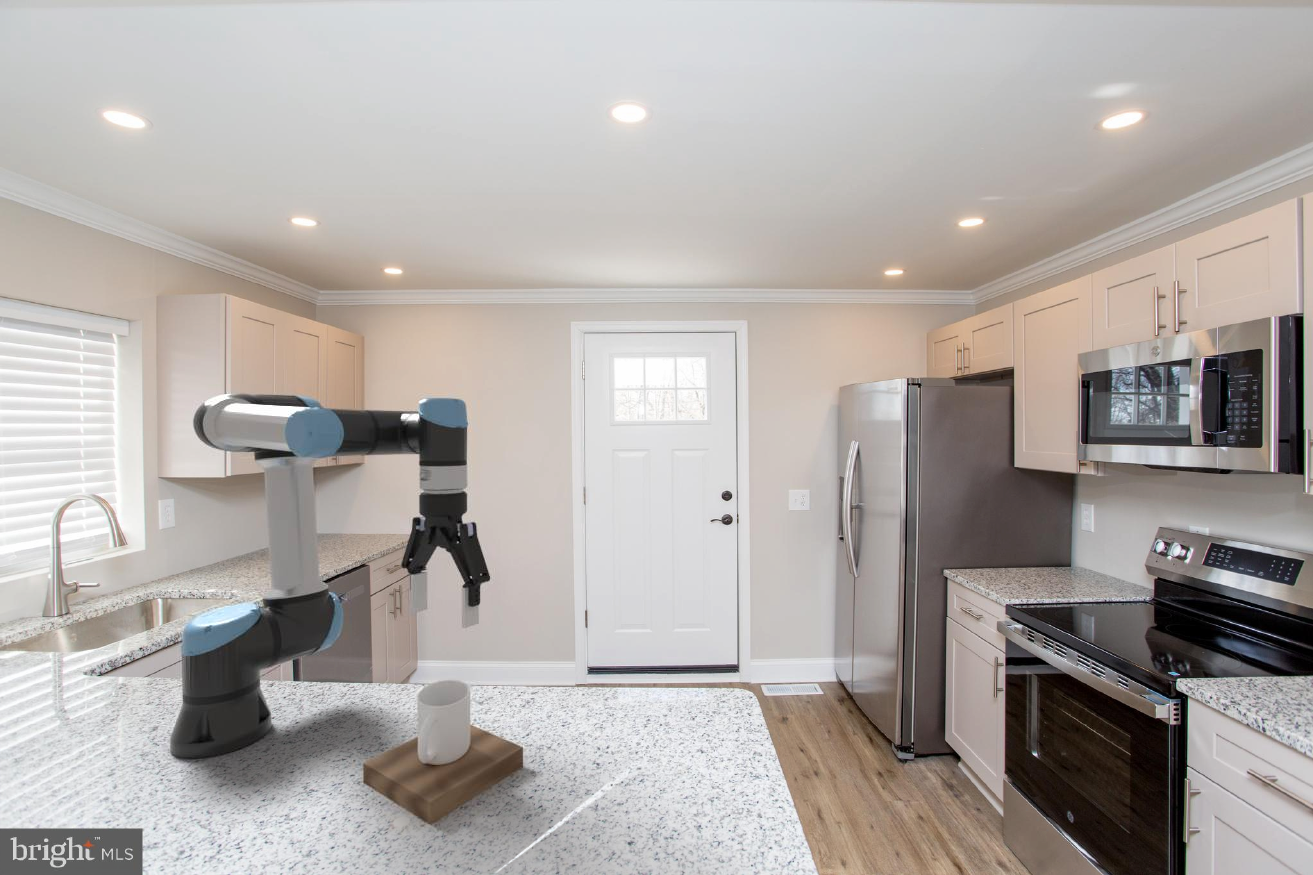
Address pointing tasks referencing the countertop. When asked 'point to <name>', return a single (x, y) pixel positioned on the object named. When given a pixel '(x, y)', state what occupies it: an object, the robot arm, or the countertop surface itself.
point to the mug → (443, 721)
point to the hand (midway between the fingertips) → (443, 618)
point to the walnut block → (442, 775)
